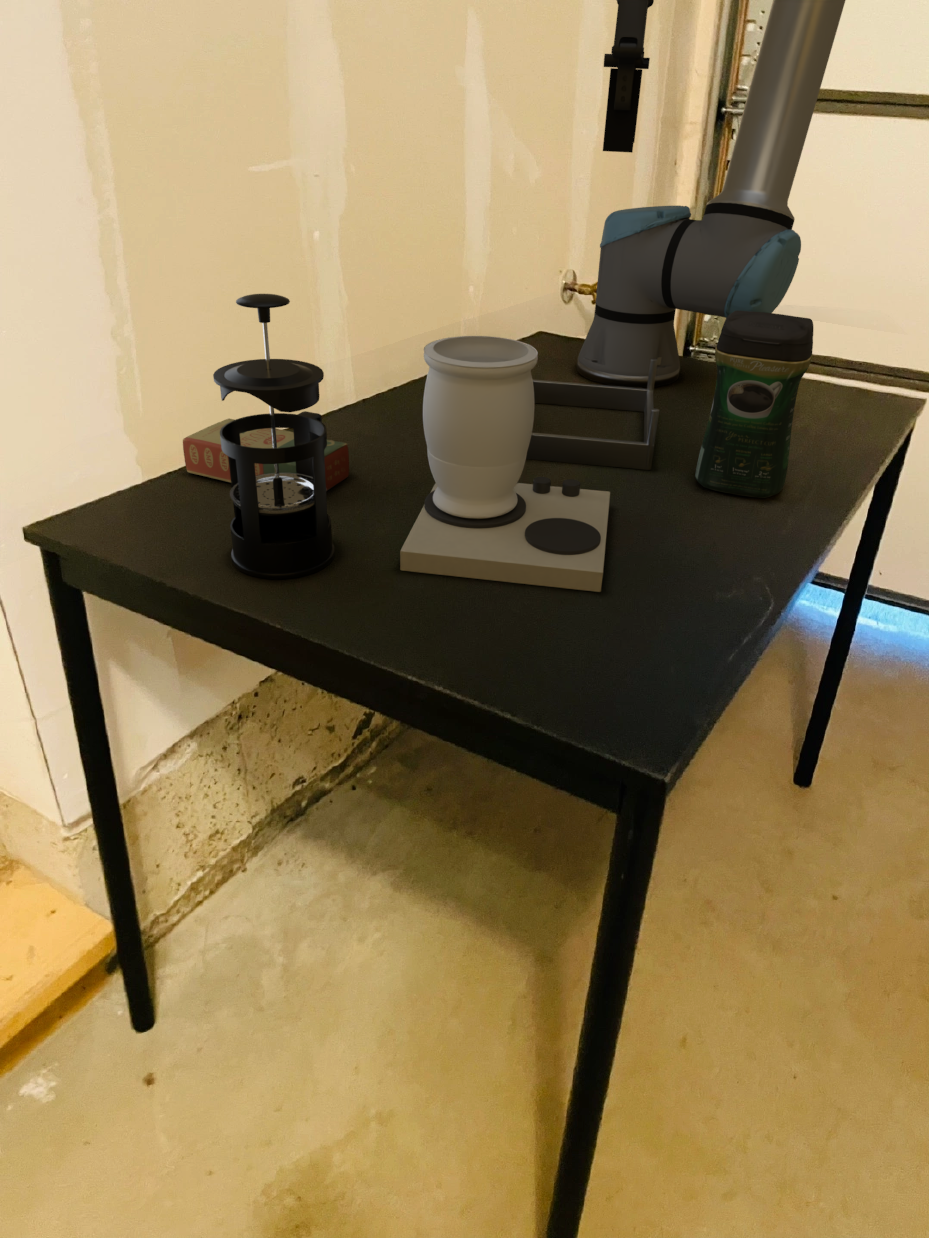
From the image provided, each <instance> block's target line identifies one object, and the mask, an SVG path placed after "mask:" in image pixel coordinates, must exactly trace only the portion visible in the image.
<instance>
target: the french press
mask: <svg viewBox="0 0 929 1238" xmlns="http://www.w3.org/2000/svg"><path fill="white" fill-rule="evenodd" d="M290 302H291V300H290V299H289V298H288V297H286V296H283V295H280V294H275V293H253V294H252V293H250V294H246V295H243V296H240V297H238V298H237V299H236V300H235V303H236V305H238V306H240V307H244V308H249V309H250V308H251V309H257V318H258V322H259V323H260V324H262V335H263V346H264V357H265V358H258V359H248V360H242V361H236V362H233V363H228V364H226V365H223V366H222V367H219V368H217V369H216V370H215V371H214V373H213V374H212V377H213V382H214V383H215V385H217V386H219V388H220V398H221V402H224V401H225V399H226V398H227V397H228V395H229V394H231V393H233V392H239V393H245V394H249V395H251V396H252V397H254V398H257V399H258V400H260V401H262V402H263V403H264V404H266V405H268V407H269V413H259V414H252V415H247V416H242V417H239V418H236V419H234V420H233V421H231V422H229V423H227V424H226V425H224V426H223V427H222V428H221V430H220V440H221V448H222V451H223V452H224V454H226V455H227V456H228V460H229V469H230V478H231V482H230V487H231V488H230V491H229V497H230V499H231V500H232V503H233V512H234V513H233V514H234V516H233V518H232V519H231V521H230V524H229V527H230V535H231V544H232V545H231V546H232V549H231V553H230V557H231V559H230V560H231V562H232V564H233V566H234V567H235V569H237V570H238V571H240V572H242V573H244V574H245V575H249V576H251V577H254V578H260V579H267V580H288V579H297V578H301V577H307V576H310V575H312V574H314V573H317V572H319V571H322V570H323V569H325V568H326V567H328V566H329V565H330V564H331V563H332V562H333V560H334V558H335V554H336V548H335V544H334V543H333V532H332V519H331V515H329V514H328V502H327V501H328V498H327V491H326V478H325V458H324V450H325V448H326V447H327V439H328V433H327V427H326V425H325V424H324V423H323V419H322V415H321V414H320V413H317V412H312V411H305V410H306V409H308V408H311V407H313V406H315V405H316V404H318V402H319V401H320V383H321V382H322V381H323V380H324V378H325V377H324V376H325V373H324V371H323V369H322V368H321V367H320V366H318V365H316V364H313V363H310V362H307V361H303V360H297V359H289V358H288V359H287V358H271V355H270V343H269V330H268V323H271V309H274V308H275V309H276V308H280V307H285V306H287V305H289V304H290ZM275 410H277V411H279V412H275ZM303 410H304V411H303ZM300 411H301V412H300ZM295 412H300V413H298V414H296V413H295ZM265 428H271V432H272V444H273V448H253V447H247V446H242V445H241V441H240V433H244V432H247V431H252V430H257V429H265ZM276 429H292V432H294V446H291V447H284V448H277V441H276ZM290 462H296V473H279V466H278V464H282V463H290ZM254 463H257V464H274V468H275V473H269V474H263V475H258V476H256V475H255V464H254ZM275 537H298V538H304V539H302V540H299V541H298V540H297V541H293V542H284V543H283V542H282V543H267V542H263V540H267V539H270V538H275Z"/></svg>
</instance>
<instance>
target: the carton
mask: <svg viewBox="0 0 929 1238" xmlns="http://www.w3.org/2000/svg"><path fill="white" fill-rule="evenodd" d="M233 420H235V419H233V418H227V419H224V420H221V421H219V422H216V423H214V424H211V425H209V426H207V427H205V428H202V429H201V430H198V431H196V432H194V433H192V434H190V435H187V436H186V437H183V439H182V450H183V458H184V463H185V469H186V472H187V473H190V474H194V475H199V476H203V477H207V478H209V479H210V478H211V479H215V480H219V481H223V482H227V483H231V478H230V469H229V460H228V456H227V455H226V454H224V452H223V451H222V448H221V440H220V430H221V428H222V427H223V426H224V425H226V424H227V423H229V422H231V421H233ZM240 441H241V445H242V446H247V447H253V448H273V444H272V432H271V428H265V429H257V430H252V431H247V432H244V433H240ZM276 441H277V448H284V447H291V446H294V432H293V431H290V430H285V429H282V428H276ZM324 458H325V478H326V492H327V491H329V490H331V489H332V488H333V487H335V486H336V485H338V484H340V483H341V482H343V481H344V480H345V479H347V478H348V477H349V476H350V453H349V446H348V443H346V442H342V441H337V440H333V439H328V438H327V447H326V448H325V450H324ZM254 464H255V475H256V476H258V475H263V474H269V473H275V468H274V464H257V463H254ZM278 466H279V473H296V462H290V463H282V464H278Z"/></svg>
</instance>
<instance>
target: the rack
mask: <svg viewBox="0 0 929 1238" xmlns="http://www.w3.org/2000/svg"><path fill="white" fill-rule="evenodd" d="M657 362H658V359H651V361H650V369H649V376H648V384H647V387H625V386H616V385H609V384H595V383H583V382H568V381H558V380H557V381H555V380H543V379H534V378H532V380H533V386H534V404H543V405H556V406H569V407H579V408H593V409H594V408H595V409H604V410H605V409H606V410H615V411H630V412H639V413H643V441H635V440H623V439H612V438H611V439H610V438H600V437H589V436H577V435H576V436H575V435H566V434H555V433H554V434H553V433H542V432H532V434H531V439H530V443H529V447H528V450H527V455H526V460H536V461H547V462H556V463H567V464H568V463H569V464H579V465H590V466H600V467H610V468H611V467H613V468H623V469H633V470H634V469H635V470H645V471H651V470H652V465H653V458H654V453H655V452H654V451H655V445H656V436H657V431H658V423H659V417H660V409H659V408H654V389H655V387H654V383H655V376H656V369H657Z"/></svg>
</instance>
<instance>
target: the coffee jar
mask: <svg viewBox="0 0 929 1238" xmlns="http://www.w3.org/2000/svg"><path fill="white" fill-rule="evenodd" d="M813 348H814V321H813V319H811V318H810V317H803V316H802V317H801V316H795V315H788V314H781V313H775V312H772V313H765V312H752V311H738V310H737V311H734V312H732V313H731V314H730V315H729V316H728V317H727V318H725V320H724V323H723V325H722V328H721V331H720V334H719V337H718V339H717V343H716V346H715V350H714V360H715V365H716V381H715V387H714V388H715V389H714V394H713V399H712V404H711V409H710V413H709V417H708V421H707V425H706V427H705V432H704V434H703V439H702V442H701V446H700V450H699V454H698V459H697V462H696V468H695V477H694V478H695V480H696V481H697V483H698V484H700V485H701V487H703V488H705V489H707V490H711V491H715V492H721V493H724V494H725V493H726V494H731V495H736V496H743V497H751V498H759V499H762V498H763V499H764V498H765V499H766V498H770V497H772V496H775V495H778V494H779V493H781V492H782V490H783V488H784V486H785V483H786V478H787V473H788V467H789V461H790V459H789V458H790V451H791V450H790V449H791V440H792V439H791V437H792V429H793V423H794V422H793V420H794V413H795V407H796V403H797V402H796V401H797V396H798V391H799V387H800V383H801V380H802V379H803V377H804V375H805V374H806V372H807V371H808V369H809V368H810V366H811V362H812V358H813Z"/></svg>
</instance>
